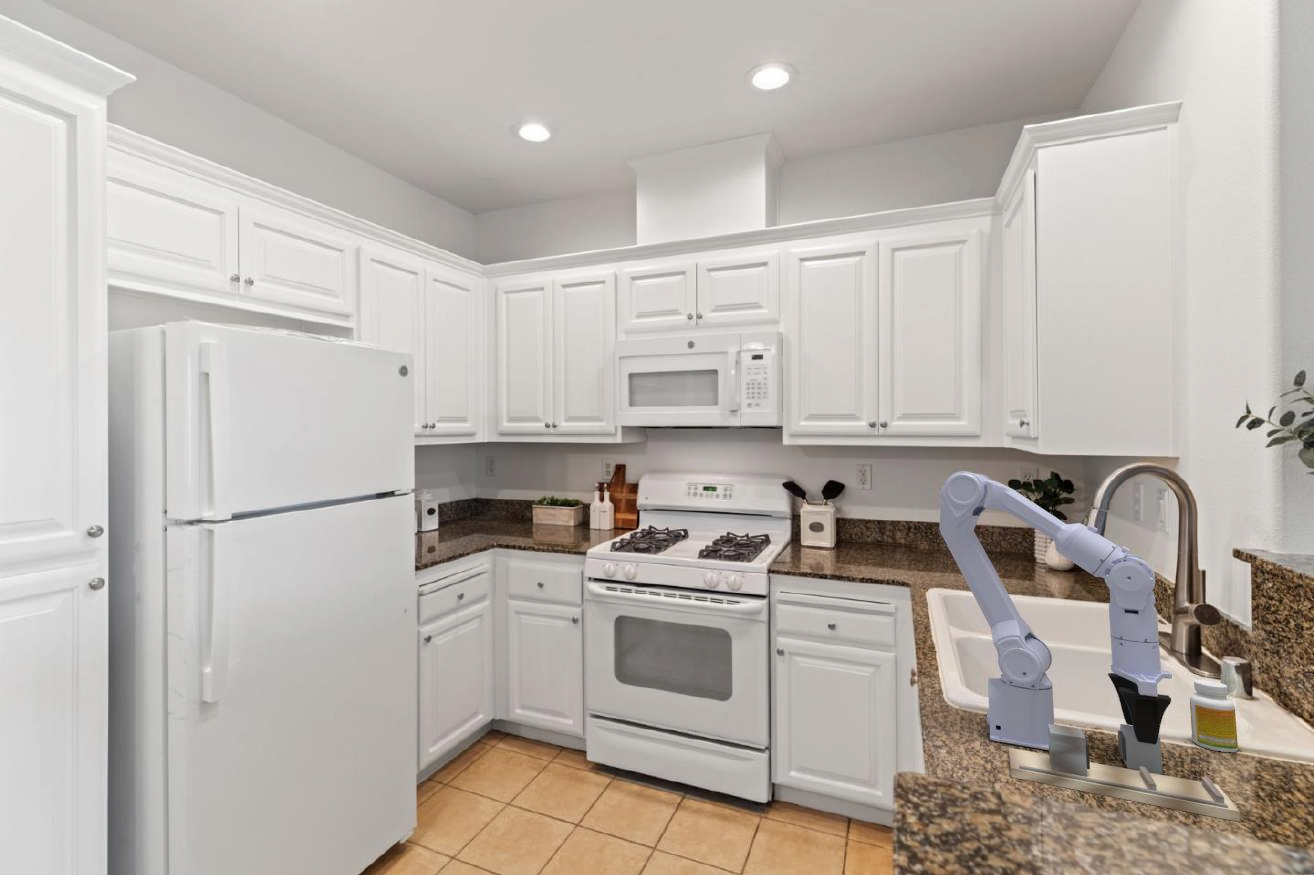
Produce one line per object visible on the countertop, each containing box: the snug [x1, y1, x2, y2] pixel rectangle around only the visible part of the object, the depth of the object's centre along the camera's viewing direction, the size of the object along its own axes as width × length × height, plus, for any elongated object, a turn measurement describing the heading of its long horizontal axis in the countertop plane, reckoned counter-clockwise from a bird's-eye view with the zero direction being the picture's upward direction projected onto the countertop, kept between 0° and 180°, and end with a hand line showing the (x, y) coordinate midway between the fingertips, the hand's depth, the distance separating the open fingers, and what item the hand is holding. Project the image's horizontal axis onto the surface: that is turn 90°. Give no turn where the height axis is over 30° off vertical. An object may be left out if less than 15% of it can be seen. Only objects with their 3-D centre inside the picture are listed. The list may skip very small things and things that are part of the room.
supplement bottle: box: [1189, 679, 1239, 753], centre depth 98 cm, size 5×5×10 cm
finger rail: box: [1008, 724, 1242, 823], centre depth 83 cm, size 24×8×6 cm, turn 62°
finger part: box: [1117, 723, 1164, 775], centre depth 90 cm, size 4×4×5 cm
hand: (1140, 733), depth 90 cm, fingers open, 7 cm apart
